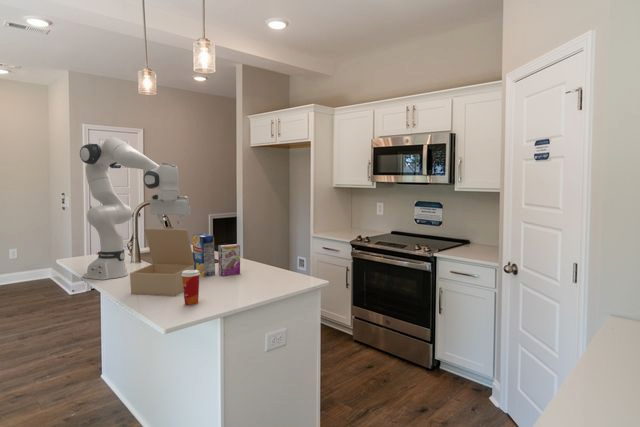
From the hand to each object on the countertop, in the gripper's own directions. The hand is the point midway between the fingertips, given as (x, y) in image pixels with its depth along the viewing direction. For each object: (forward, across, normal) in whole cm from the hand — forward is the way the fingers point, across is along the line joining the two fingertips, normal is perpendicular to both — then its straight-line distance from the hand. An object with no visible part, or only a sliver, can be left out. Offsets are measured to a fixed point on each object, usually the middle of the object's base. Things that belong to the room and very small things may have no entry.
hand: (170, 223), depth 208 cm
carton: (+31, 0, +9) cm, 32 cm away
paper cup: (+31, -23, +28) cm, 47 cm away
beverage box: (+31, -7, -22) cm, 39 cm away
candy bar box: (+31, -21, -24) cm, 45 cm away
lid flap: (+11, 0, +2) cm, 12 cm away
